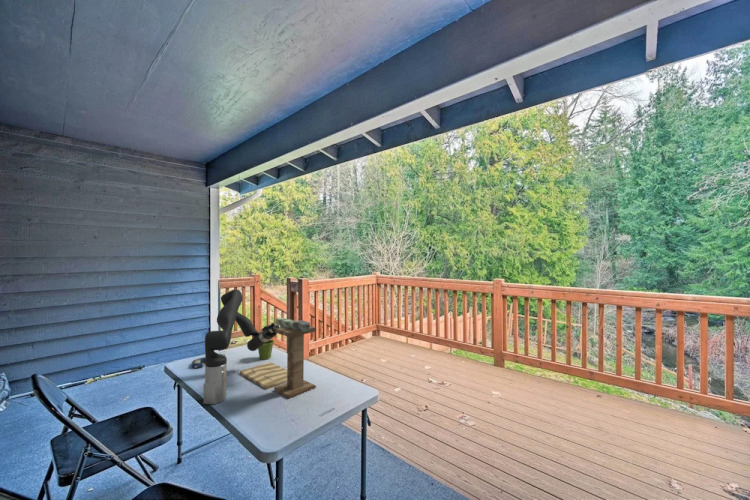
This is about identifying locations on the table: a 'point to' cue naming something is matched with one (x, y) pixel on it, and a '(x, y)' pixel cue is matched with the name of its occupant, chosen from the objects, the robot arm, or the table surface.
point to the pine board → (266, 375)
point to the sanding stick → (294, 324)
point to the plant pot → (266, 350)
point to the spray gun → (200, 362)
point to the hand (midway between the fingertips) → (280, 323)
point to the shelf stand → (294, 363)
